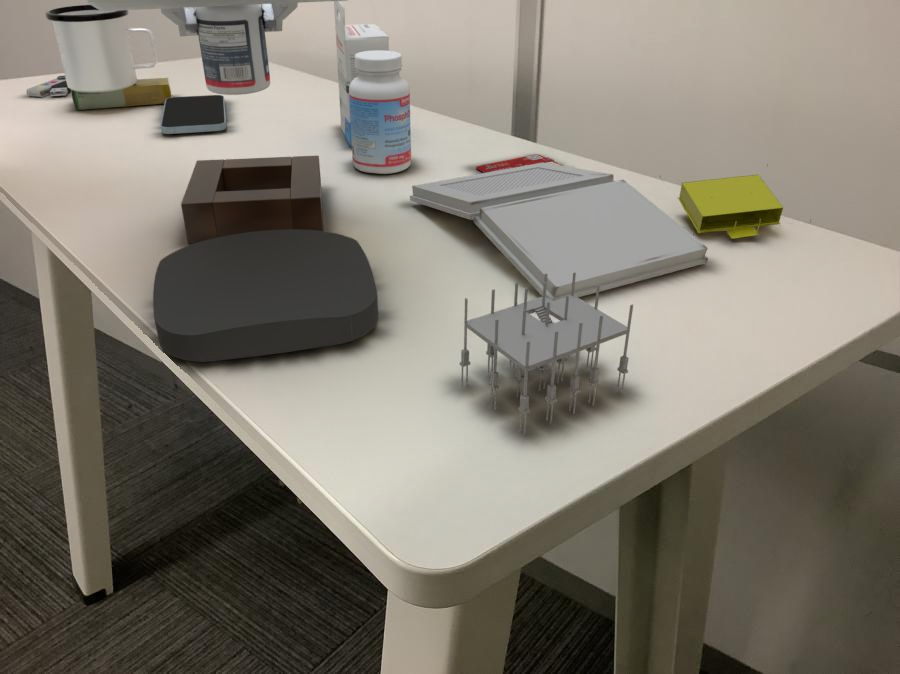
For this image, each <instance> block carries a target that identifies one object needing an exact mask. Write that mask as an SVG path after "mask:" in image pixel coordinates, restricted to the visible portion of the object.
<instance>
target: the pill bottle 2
mask: <svg viewBox="0 0 900 674" xmlns="http://www.w3.org/2000/svg"><path fill="white" fill-rule="evenodd" d="M402 56H403V55H402V54H401V53H400V52H397V51H393V50H389V51H384V50H373V51H364V52H359V53H357V54H355V68H356V71H357V72H358V77H356V78H355V79H353V80H352V82H351V83H350V86H349V102H350V122H351V141H352V147H351V158H352V159H351V160H352V164H353V167H354V168H355V169H357V170H358V171H360V172H364V173H367V174H379V175H388V174H389V175H391V174H396V173H400V172H402V171H405V170H406V169H408V168H409V167H410V166H411V163H412V139H411V138H412V137H411V135H412V134H411V91H410V85H409V83H408V81H407V80H406V79H405V77H402V76H401V75H400V72H401V71H402V67H403V63H402V62H403V60H402V58H403V57H402Z"/></svg>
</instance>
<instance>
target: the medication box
mask: <svg viewBox="0 0 900 674" xmlns="http://www.w3.org/2000/svg"><path fill="white" fill-rule="evenodd" d="M70 94H71V98H72V99H71V100H72V103H73V106H74V108H75V110H76V111H81V110H82V111H83V110H94V109H95V110H96V109H109V108H121V107H124V108H125V107H134V106H135V107H136V106H147V105H148V106H149V105H161V104H165V100H166V99H167V98H171V97H174V96H173V95H172V88H171V83H170V80H169V77H155V78H140V79H139V78H137V82H136V83H135V84H134V85H133V86H131V87H128V88H125V89H121V90H116V91H109V92H93V93H89V92H78V91H74V90H72V89H70Z"/></svg>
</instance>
